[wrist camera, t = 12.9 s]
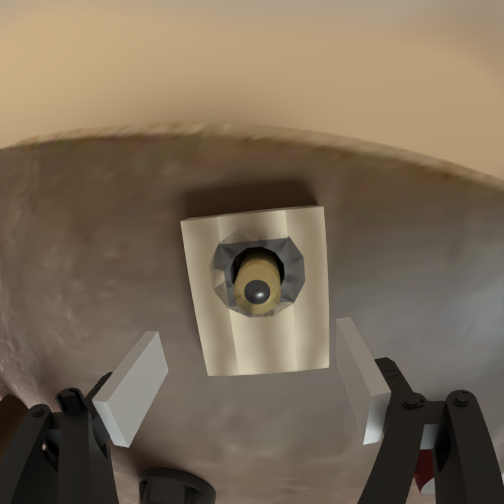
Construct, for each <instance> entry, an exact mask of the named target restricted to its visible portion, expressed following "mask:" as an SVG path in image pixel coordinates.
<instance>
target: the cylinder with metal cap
mask: <svg viewBox="0 0 504 504" xmlns="http://www.w3.org/2000/svg"><path fill="white" fill-rule="evenodd" d="M233 293H234V298H235V300H236V302H237V304H238V305H239V306H240V307H241V308H242V309H243V310H245V311H247V312H249V313H253V314H262V313H266V312H268V311H270V310H272V309H273V308H274V307H275V306H276V305H277V304H278V302H279V300H280V297H281V284H280V276H279V268H278V262H277V259H276V257H275V256H274V255H273V254H272V253H271V252H270V251H268V250H265V249H254V250H252V251H250V252H248V253H247V254H246V255H245V257H244V258H243V260H242V263H241V266H240V269H239V273H238V276H237V279H236V282H235V285H234V289H233Z"/></svg>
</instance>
